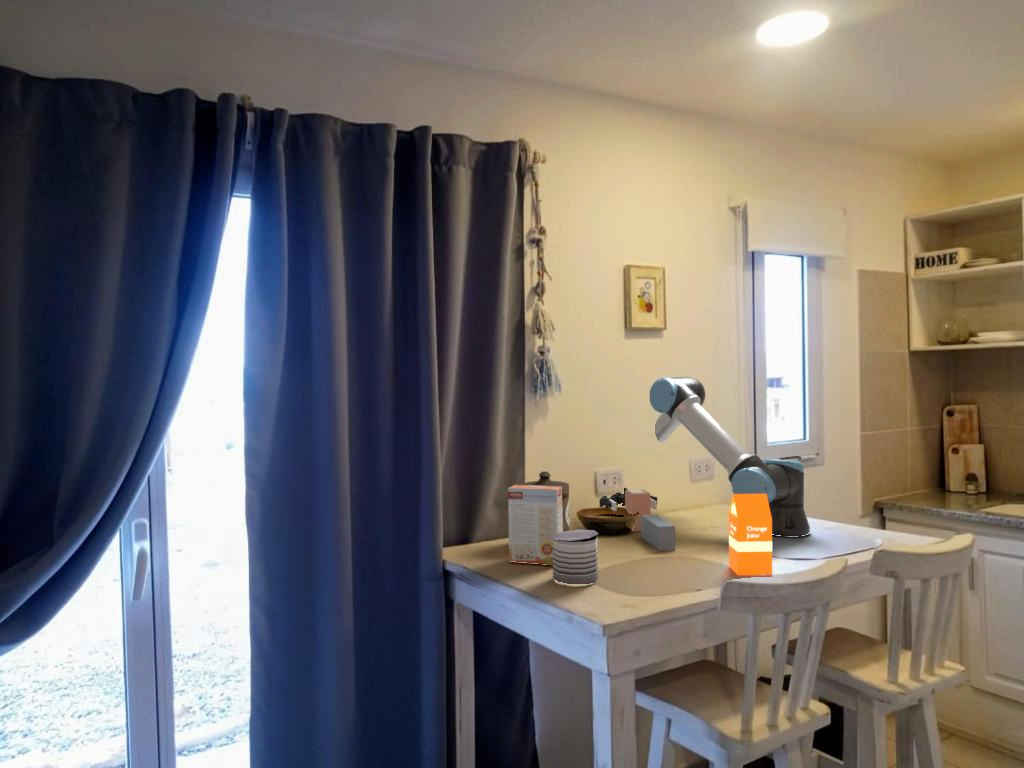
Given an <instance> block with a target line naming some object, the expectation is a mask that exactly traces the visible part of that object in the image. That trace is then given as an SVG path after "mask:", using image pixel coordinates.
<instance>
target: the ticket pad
mask: <svg viewBox="0 0 1024 768" xmlns="http://www.w3.org/2000/svg"><path fill="white" fill-rule="evenodd" d="M640 532H641V534H640V535H641V539H643V540H645V541H646V542H647V543H649V544H650V545H651V546H653V547H654V548H655V549H656V550H657V551H658V552H662V551H667V552H668V551H676V525H674V524H673V523H671V522H669V521H668V520H666V519H664V518H663V517H661V516H659V515H658V514H651V515H641V531H640Z"/></svg>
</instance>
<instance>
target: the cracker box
mask: <svg viewBox="0 0 1024 768" xmlns="http://www.w3.org/2000/svg"><path fill="white" fill-rule="evenodd" d="M507 495H508V497H507V499H508V500H507V501H508V505H507V506H508V507H507V508H508V510H507V511H508V515H507V516H508V552H509V553H508V554H509V555H508V557H509V559H508V561H516V562H527V563H538V564H547V565H553V537H552V536H553V535H555V534H558V533H560V532H563V515H562V487H561V486H535V485H521V484H514V485H512V486H509V487H508V488H507Z"/></svg>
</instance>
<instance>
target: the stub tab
mask: <svg viewBox="0 0 1024 768" xmlns="http://www.w3.org/2000/svg"><path fill="white" fill-rule="evenodd" d="M650 496H651V493H650V492H648V491H647V490H644V489H628V490H625V506H624V509H626V510H627V512H628V513H629V514H632V515H633V514H636V513H637V512H639V513H640V515H639V517H638V518H637V521H636V522H635V525H634V528H633V531H632V532H641V515H652V514H651V513H652V512H651V511H652V510H651V509H652V508H651V507H650Z"/></svg>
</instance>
